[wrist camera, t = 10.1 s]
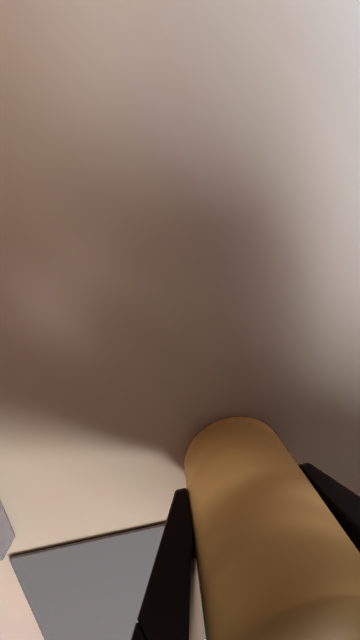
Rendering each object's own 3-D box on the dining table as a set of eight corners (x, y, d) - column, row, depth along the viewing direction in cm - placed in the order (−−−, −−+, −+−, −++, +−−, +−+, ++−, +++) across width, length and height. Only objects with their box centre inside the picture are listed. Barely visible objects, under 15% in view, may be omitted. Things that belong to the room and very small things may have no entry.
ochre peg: (279, 407, 9) (421, 573, 4) (284, 490, 10) (405, 704, 5) (176, 427, 9) (199, 626, 4) (191, 510, 10) (225, 753, 5)
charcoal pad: (194, 517, 10) (194, 519, 10) (215, 633, 12) (215, 636, 12) (10, 556, 10) (9, 559, 10) (60, 671, 12) (60, 674, 12)
